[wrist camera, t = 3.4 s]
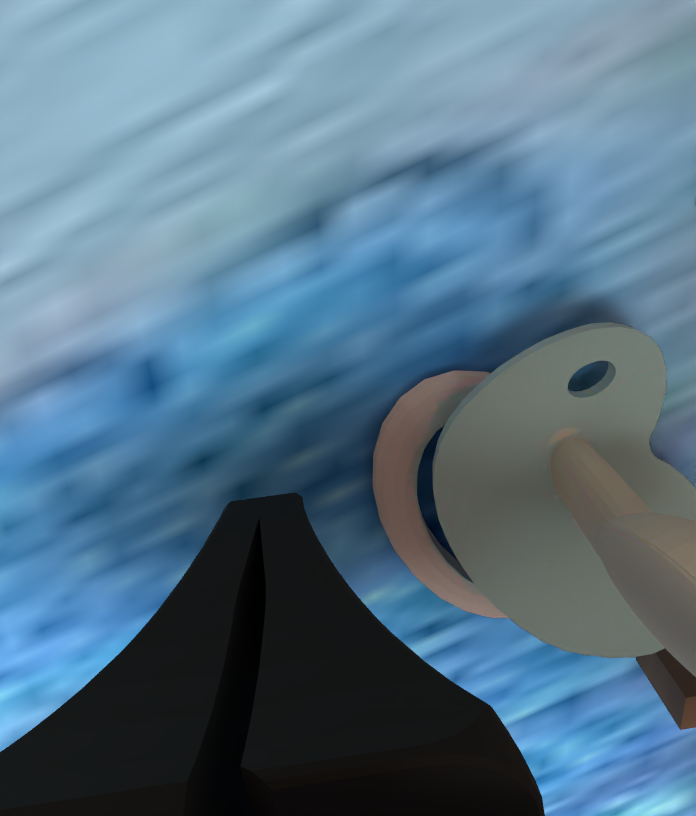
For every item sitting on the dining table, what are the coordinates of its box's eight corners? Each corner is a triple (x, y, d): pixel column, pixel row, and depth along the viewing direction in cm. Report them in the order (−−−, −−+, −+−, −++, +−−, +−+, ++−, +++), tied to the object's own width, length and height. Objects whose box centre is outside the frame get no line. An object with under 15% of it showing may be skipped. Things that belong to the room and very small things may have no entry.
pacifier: (455, 636, 16) (695, 535, 15) (539, 937, 10) (929, 805, 10) (309, 397, 13) (601, 251, 12) (317, 642, 7) (866, 404, 6)
